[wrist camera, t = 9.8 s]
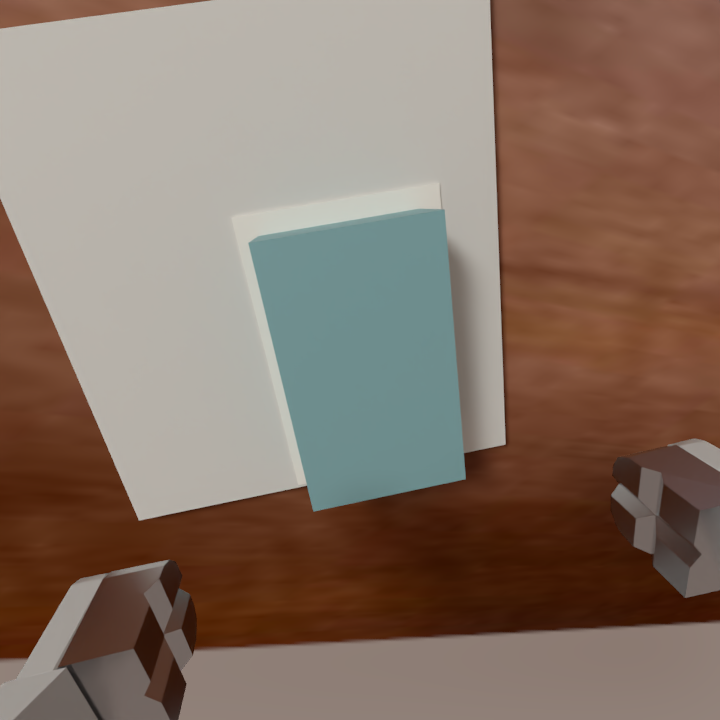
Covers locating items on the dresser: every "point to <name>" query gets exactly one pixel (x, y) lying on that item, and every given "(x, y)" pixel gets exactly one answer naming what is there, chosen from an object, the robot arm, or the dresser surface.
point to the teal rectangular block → (366, 352)
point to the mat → (238, 207)
